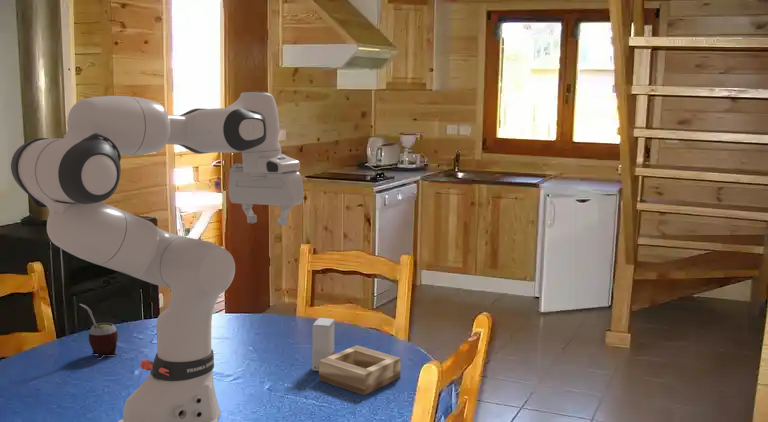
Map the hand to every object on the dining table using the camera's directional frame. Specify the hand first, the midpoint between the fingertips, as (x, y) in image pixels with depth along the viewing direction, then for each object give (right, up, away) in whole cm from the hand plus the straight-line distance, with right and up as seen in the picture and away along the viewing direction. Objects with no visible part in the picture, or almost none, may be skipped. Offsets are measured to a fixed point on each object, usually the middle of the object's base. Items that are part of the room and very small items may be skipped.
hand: (267, 223), depth 174 cm
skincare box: (+11, -37, +18) cm, 42 cm away
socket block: (+21, -38, +10) cm, 44 cm away
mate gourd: (-46, -35, +23) cm, 62 cm away
